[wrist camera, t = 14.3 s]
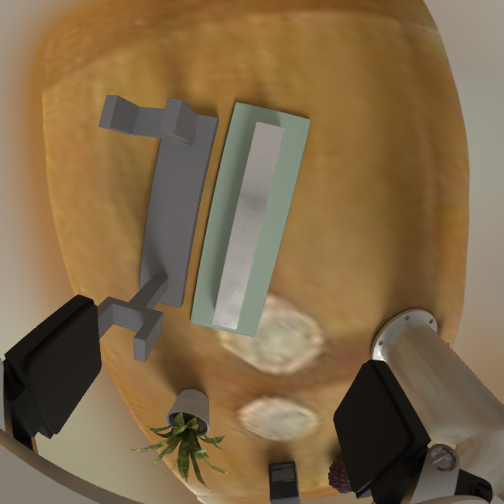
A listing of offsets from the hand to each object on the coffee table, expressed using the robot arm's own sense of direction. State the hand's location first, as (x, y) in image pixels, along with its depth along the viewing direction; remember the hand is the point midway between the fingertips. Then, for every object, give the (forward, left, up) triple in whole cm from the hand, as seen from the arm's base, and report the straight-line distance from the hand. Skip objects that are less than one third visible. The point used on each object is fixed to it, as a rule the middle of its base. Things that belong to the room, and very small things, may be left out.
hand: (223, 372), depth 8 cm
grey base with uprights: (+9, 0, -26) cm, 27 cm away
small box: (-21, +54, -26) cm, 63 cm away
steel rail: (0, 0, -25) cm, 25 cm away
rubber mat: (0, 0, -26) cm, 26 cm away
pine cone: (-34, +47, -26) cm, 63 cm away
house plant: (+1, +31, -26) cm, 40 cm away
